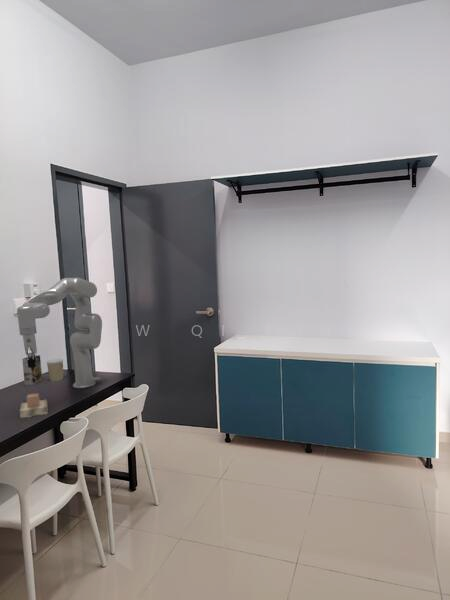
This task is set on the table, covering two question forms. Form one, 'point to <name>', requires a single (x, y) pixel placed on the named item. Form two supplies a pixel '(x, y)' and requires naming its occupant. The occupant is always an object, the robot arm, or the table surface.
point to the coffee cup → (55, 369)
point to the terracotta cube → (33, 400)
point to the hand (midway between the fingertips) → (32, 364)
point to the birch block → (33, 409)
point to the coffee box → (32, 371)
